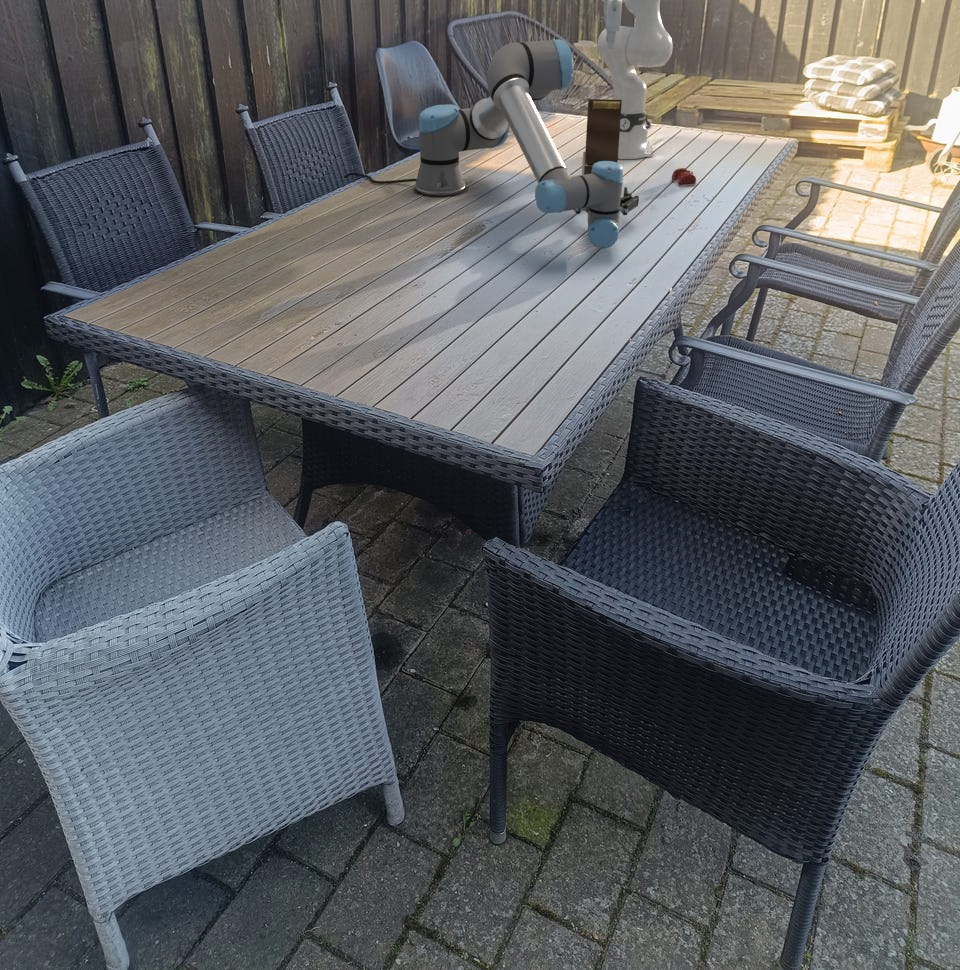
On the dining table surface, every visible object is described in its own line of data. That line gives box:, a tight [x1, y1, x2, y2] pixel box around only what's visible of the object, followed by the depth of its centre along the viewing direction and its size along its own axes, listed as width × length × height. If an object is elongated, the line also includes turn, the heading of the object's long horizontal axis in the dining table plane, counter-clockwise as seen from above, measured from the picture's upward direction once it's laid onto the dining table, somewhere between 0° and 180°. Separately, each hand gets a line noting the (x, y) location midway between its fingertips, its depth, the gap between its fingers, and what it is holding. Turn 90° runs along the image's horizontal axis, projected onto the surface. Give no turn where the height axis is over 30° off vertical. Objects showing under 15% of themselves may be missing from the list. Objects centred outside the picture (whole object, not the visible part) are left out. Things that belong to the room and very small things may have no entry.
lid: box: [584, 98, 622, 164], centre depth 236 cm, size 17×9×9 cm
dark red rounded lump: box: [671, 167, 697, 186], centre depth 263 cm, size 6×4×8 cm
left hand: (600, 191), depth 235 cm, fingers open, 13 cm apart
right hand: (609, 45), depth 228 cm, fingers open, 8 cm apart
